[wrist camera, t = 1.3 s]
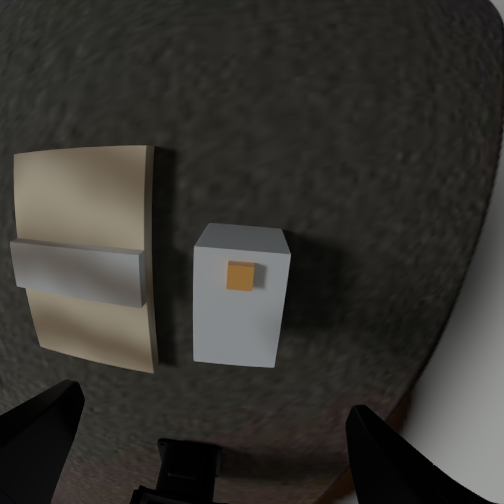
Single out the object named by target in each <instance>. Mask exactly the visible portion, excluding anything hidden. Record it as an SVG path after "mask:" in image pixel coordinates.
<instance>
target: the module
mask: <svg viewBox="0 0 504 504" xmlns="http://www.w3.org/2000/svg"><path fill="white" fill-rule="evenodd" d="M290 258H291V253H290V250H289V248H288V245H287V242H286V240H285V237H284V234H283V232H282V229H276V228H265V227H253V226H242V225H229V224H217V223H209V224H208V225H207V227H206V228H205V230H204V232H203V233H202V235H201V236H200V238H199V239H198V241H197V243H196V244H195V246H194V273H193V349H194V361H199V362H208V363H218V364H229V365H241V366H255V367H273V368H274V364H275V358H276V352H277V346H278V340H279V334H280V327H281V321H282V314H283V307H284V301H285V294H286V287H287V280H288V273H289V265H290Z"/></svg>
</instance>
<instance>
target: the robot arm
mask: <svg viewBox="0 0 504 504" xmlns="http://www.w3.org/2000/svg"><path fill="white" fill-rule="evenodd" d="M84 403H85V398H84V395H83V392H82V390H81V387H80V384H79V383H78V381H75V380H72V379H66V380H64V381H62V382H60V383H58V384H57V385H55V386H53V387H51V388H49V389H48V390H46V391H44V392H42V393H40V394H39V395H37V396H35V397H33V398H31V399H30V400H28V401H26V402H24V403H22V404H21V405H19V406H17V407H15V408H13V409H11V410H10V411H8V412H6V413H4V414H2V415H0V504H50V503H51V500H52V497H53V494H54V491H55V488H56V485H57V482H58V480H59V477H60V474H61V471H62V469H63V466H64V463H65V461H66V458H67V456H68V453H69V451H70V448H71V446H72V443H73V440H74V438H75V434H76V431H77V428H78V424H79V421H80V417H81V414H82V410H83V407H84ZM346 435H347V444H348V453H349V462H350V468H351V473H352V477H353V481H354V485H355V489H356V494H357V499H358V503H359V504H497V503H493V502H490V501H488V500H486V499H484V498H482V497H480V496H479V495H477V494H475V493H474V492H472V491H470V490H469V489H467V488H465V487H464V486H462V485H461V484H459V483H458V482H456V481H455V480H453V479H452V478H451V477H449V476H448V475H447V474H445V473H444V472H443V471H441V470H440V469H439V468H438V467H437V466H435V465H433V463H432V462H430V461H429V460H428V459H427V458H426V457H425V456H423V455H422V454H421V453H420V452H419V451H417V450H416V449H415V448H414V447H413V446H412V445H411V444H409V443H408V442H407V441H406V440H405V439H404V438H402V437H401V436H400V435H399V434H398V433H397V432H395V431H394V430H393V429H392V428H391V427H390V426H389V425H388V424H386V423H385V422H384V421H383V420H382V419H381V418H380V417H378V416H377V415H376V414H375V413H374V412H373V411H372V410H371V409H369V408H368V407H367V406H366V405H355V406H353V407H352V408H351V411H350V413H349V416H348V418H347V421H346ZM157 444H158V448H159V452H160V456H161V460H162V465H161V469H160V473H159V477H158V481H157V485H156V489H155V490H153V489H149V488H146V487H145V486H142V485H140V486H139V489H138V490H134V491H133V495H132V498H131V501H130V504H229V503H216V502H213V495H214V485H215V477H220V465H221V449H220V448H219V447H215V446H206V445H198V444H190V443H183V442H177V441H171V440H165V439H159V440H158V442H157Z"/></svg>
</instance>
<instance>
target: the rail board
mask: <svg viewBox="0 0 504 504" xmlns="http://www.w3.org/2000/svg"><path fill="white" fill-rule="evenodd" d="M153 161H154V146H104V147H85V148H70V149H58V150H47V151H37V152H29V153H21V154H14V197H15V214H16V226H17V236H18V238H17V239H15V240H13V241H11V242H10V247H11V254H12V261H13V267H14V272H15V278H16V283H17V286H19V287H23V288H26V292H27V296H28V301H29V305H30V309H31V314H32V318H33V321H34V325H35V329H36V332H37V336H38V339H39V343H40V346H41V347H44V348H47V349H51V350H54V351H57V352H61V353H64V354H68V355H72V356H75V357H79V358H83V359H87V360H91V361H95V362H100V363H104V364H109V365H113V366H118V367H123V368H128V369H133V370H138V371H143V372H149V373H154V372H155V369H156V367H157V364H158V362H159V360H158V350H157V339H156V327H155V314H154V297H153V275H152V183H153Z"/></svg>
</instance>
